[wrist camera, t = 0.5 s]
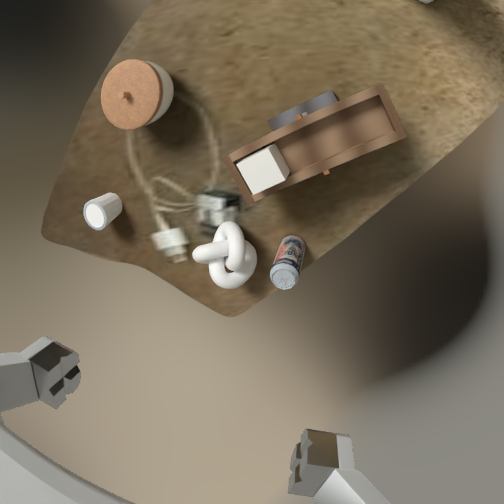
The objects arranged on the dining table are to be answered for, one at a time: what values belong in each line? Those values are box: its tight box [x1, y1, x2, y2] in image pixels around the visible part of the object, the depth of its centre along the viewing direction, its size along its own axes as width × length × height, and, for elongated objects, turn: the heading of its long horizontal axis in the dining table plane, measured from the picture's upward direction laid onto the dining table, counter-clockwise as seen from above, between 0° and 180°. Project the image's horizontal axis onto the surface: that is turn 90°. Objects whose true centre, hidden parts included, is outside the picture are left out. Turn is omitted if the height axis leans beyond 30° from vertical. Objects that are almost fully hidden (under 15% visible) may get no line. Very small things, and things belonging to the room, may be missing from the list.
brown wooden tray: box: [222, 84, 407, 205], centre depth 45 cm, size 25×12×10 cm, turn 120°
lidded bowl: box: [101, 59, 174, 130], centre depth 47 cm, size 13×13×11 cm
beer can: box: [270, 235, 305, 290], centre depth 55 cm, size 5×5×12 cm
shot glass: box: [84, 193, 122, 230], centre depth 63 cm, size 7×7×7 cm
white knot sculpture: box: [192, 221, 257, 289], centre depth 60 cm, size 11×12×9 cm
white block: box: [236, 143, 290, 195], centre depth 43 cm, size 5×5×5 cm
